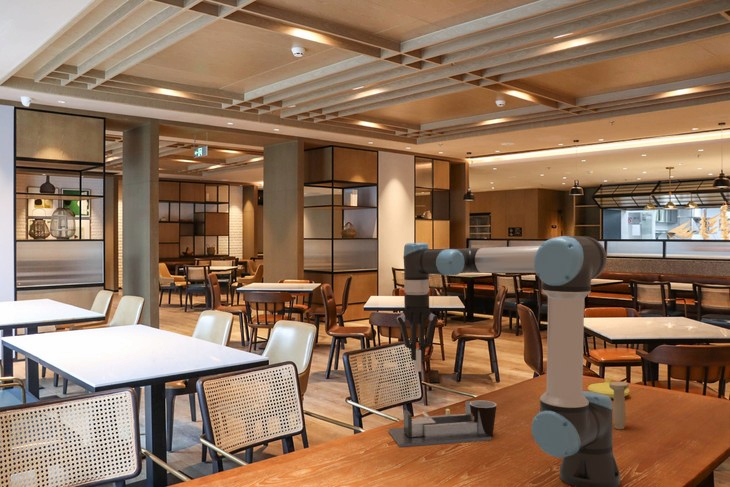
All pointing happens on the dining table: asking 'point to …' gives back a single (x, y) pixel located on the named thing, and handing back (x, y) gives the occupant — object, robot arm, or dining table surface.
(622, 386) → the handle
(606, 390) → the yellow pot lid
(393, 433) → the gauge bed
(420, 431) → the grey bracket
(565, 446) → the robot arm
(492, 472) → the dining table surface
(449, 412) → the marker
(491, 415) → the coffee mug
